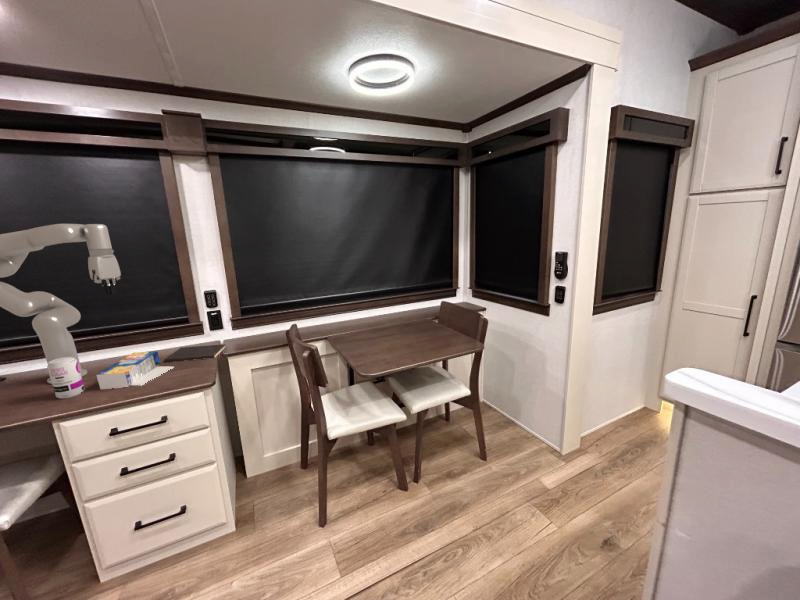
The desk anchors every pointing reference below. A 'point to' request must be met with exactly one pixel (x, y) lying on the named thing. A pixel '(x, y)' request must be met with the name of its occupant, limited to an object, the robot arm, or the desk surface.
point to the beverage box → (128, 370)
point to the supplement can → (65, 377)
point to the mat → (151, 375)
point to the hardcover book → (195, 353)
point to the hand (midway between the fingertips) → (111, 294)
